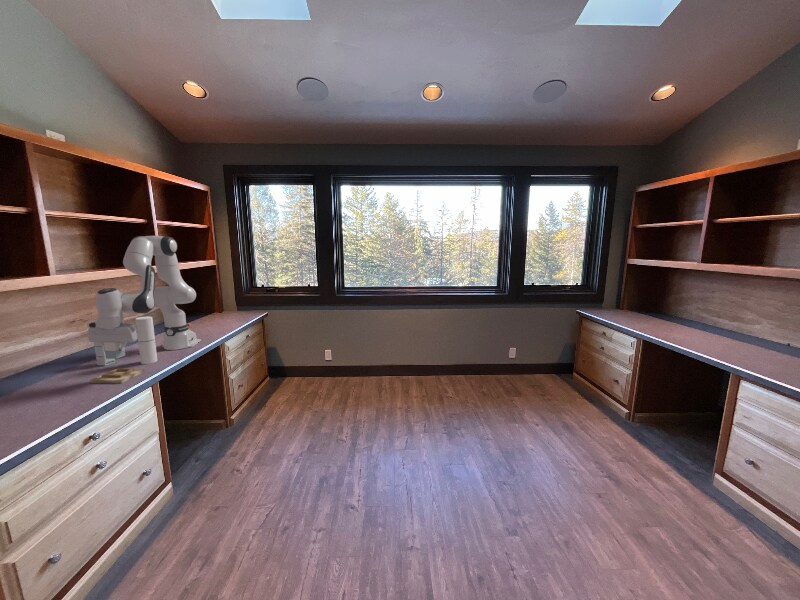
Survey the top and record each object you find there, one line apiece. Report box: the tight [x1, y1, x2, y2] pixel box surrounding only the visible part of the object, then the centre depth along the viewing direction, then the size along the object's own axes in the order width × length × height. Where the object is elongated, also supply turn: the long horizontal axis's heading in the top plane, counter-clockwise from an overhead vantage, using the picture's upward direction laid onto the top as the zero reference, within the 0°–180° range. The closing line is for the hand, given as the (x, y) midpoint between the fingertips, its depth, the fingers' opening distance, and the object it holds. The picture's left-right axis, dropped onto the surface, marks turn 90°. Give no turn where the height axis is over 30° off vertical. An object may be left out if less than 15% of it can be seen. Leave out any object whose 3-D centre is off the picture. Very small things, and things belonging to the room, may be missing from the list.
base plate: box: [89, 368, 145, 384], centre depth 152 cm, size 14×14×3 cm
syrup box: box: [93, 342, 118, 367], centre depth 167 cm, size 6×6×14 cm
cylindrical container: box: [135, 316, 158, 365], centre depth 170 cm, size 7×7×25 cm
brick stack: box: [104, 342, 126, 359], centre depth 149 cm, size 5×5×8 cm
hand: (115, 350), depth 150 cm, fingers closed on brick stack, 5 cm apart
